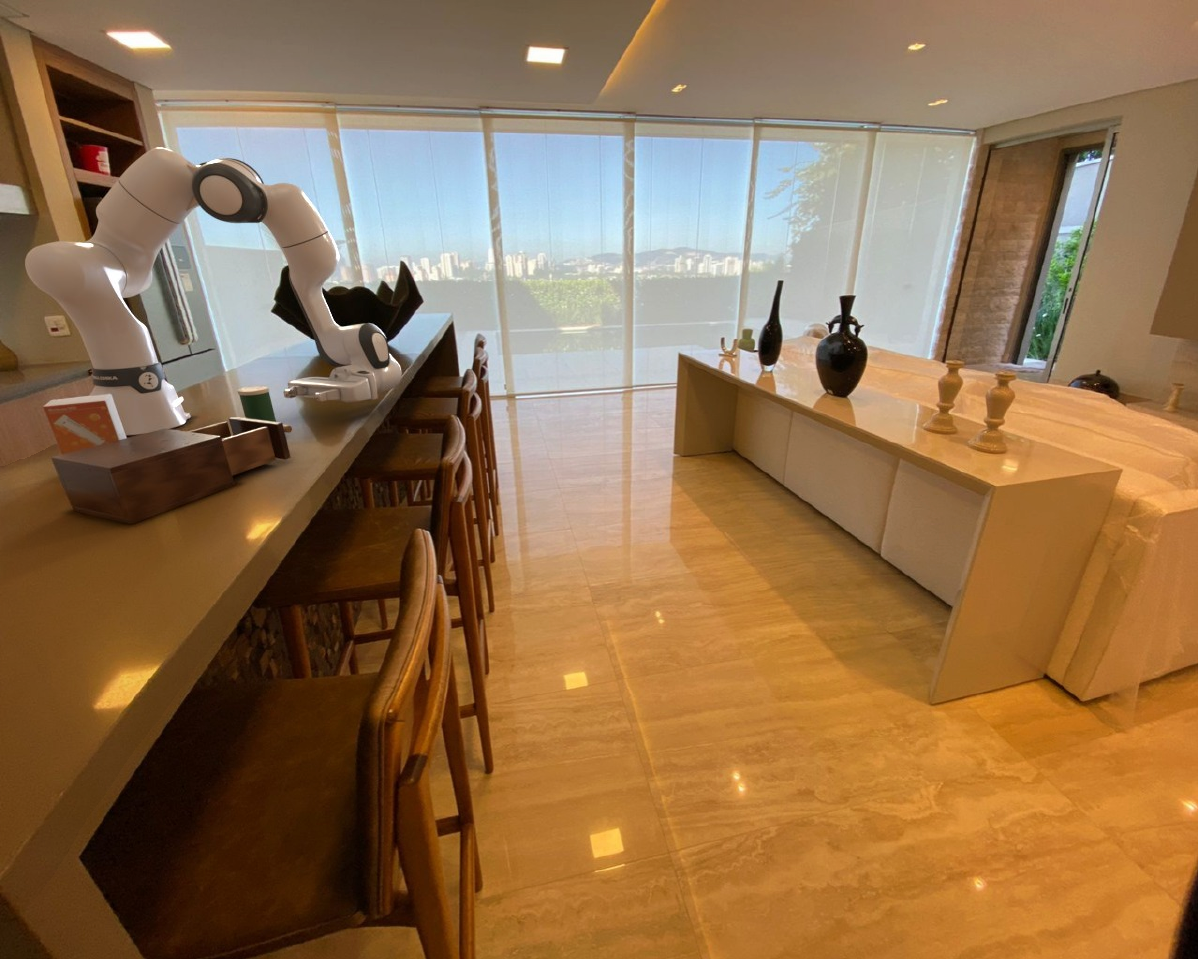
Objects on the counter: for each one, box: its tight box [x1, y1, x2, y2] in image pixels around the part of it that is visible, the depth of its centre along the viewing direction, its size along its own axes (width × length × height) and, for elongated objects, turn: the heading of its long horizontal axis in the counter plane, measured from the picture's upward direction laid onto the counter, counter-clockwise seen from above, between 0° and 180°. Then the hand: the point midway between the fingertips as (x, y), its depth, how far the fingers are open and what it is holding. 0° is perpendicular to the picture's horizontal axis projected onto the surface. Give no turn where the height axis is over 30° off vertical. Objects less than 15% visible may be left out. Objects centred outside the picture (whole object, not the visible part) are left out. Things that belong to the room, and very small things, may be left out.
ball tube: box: [237, 385, 277, 422], centre depth 110 cm, size 5×5×11 cm
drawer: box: [186, 416, 293, 477], centre depth 95 cm, size 19×12×7 cm, turn 159°
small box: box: [42, 394, 127, 455], centre depth 94 cm, size 8×6×13 cm
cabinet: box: [50, 428, 236, 525], centre depth 82 cm, size 16×14×9 cm
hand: (301, 396), depth 119 cm, fingers open, 8 cm apart
